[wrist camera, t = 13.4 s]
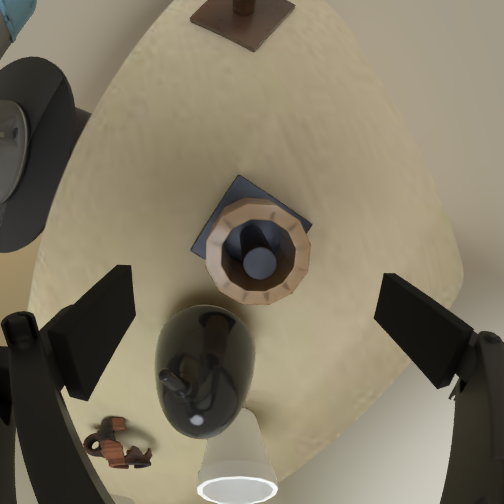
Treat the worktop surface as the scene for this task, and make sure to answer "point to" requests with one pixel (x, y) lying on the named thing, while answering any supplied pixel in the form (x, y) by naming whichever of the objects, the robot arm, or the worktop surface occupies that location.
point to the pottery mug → (115, 447)
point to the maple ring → (288, 254)
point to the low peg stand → (243, 19)
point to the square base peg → (249, 233)
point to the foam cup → (237, 465)
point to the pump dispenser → (203, 369)
